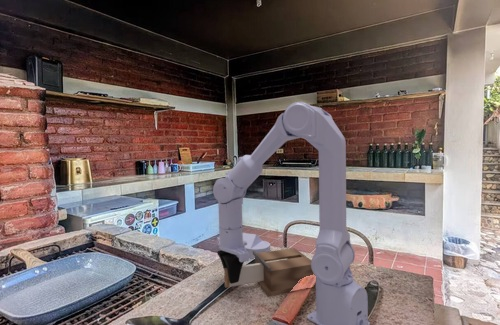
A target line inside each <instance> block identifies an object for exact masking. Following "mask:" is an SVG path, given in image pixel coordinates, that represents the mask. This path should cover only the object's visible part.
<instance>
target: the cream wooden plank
mask: <svg viewBox="0 0 500 325" xmlns="http://www.w3.org/2000/svg"><path fill="white" fill-rule="evenodd" d="M281 260H285V259H281ZM275 261H279V260H275ZM268 262H272V261H268ZM223 277H224V287H225V288H231V287H236V286H237V287H238V286H242V285H246V284H247V285H249V284H254V283H257V282H260V281H264V266H263V265H262V264H261V263H255V262H254V263H250V264H243V266H242V268H241V272H240V277H239V281H238V282H236V283H232V284H231V283H230V281H229V277H228V270H227V268H223Z"/></svg>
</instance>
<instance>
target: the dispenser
mask: <svg viewBox="0 0 500 325" xmlns="http://www.w3.org/2000/svg"><path fill="white" fill-rule="evenodd" d="M253 255H254V256H255V260H254V264H255V263H261V264H262V265H263V266H264V281H260V282H256V283H257V285H258V286H259V287H260V289H261V290H262V291H263V292H264V293H265V295H266V296H267V298H269V297H273V296H278V295H284V294H288V293H291V292H290V291H291V290H292V289H293V287H294V286H295V285H296V284H297V283H298V281H299V280H300V279H302V278H304V277H306V276H310V275H313V274H314V273H313V271H312V268H311V260H312V259H310V258H309V257H307V256H306V255H304V254H303V253H302V252H301V251H299V250H297V249H296V248H294V247H292V248H284V249H278V250H270V252H263V253H256V252H255V251H253ZM281 259H285V260H281ZM275 260H279V261H275ZM268 261H272V262H268ZM314 288H315V289H316V283H315V285H314V287H313V288H312V289H314Z"/></svg>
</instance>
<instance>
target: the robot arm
mask: <svg viewBox="0 0 500 325" xmlns="http://www.w3.org/2000/svg"><path fill="white" fill-rule="evenodd" d="M300 138H301V139H303V140H306V141H307V142H308V143H309V144H310V145H311V146H313V147H314V148H315V149H316V150H317V151H318V204H319V206H318V208H319V211H318V213H319V231H318V234H317V238H316V241H315V250H314V254H313V256H312V257H311V259H310V260H311V268H312V271H313V273H314V275H315V276H316V287H315V310H314V311H312V312H311V313H309V314H308V315H306V319H307V320H309V321H310V322H312V323H314V324H316V325H370V324H371V322H370V321H368V320H369V316H368V314H369V312H368V311H369V310H368V309H369V306H368V304H369V303H368V301H369V299H368V292H367V290H366V289H365V287H363V286H361V285H360V284H359V283H358V282H356V281H355V280H354V274H353V272H352V269H351V268H350V266H351V265H352V264H353V262H354V261H355V258H356V256H355V255H356V254H355V252H356V251H355V250H354V247H353V246H352V243H351V235H350V232H349V231H348V229H347V142H346V138H345V136H344V135H343V133H342V132H341V130H340V129H339V127H338V126H337V123H336V122H335V121H334V120H333V116H332V115H331V114H330V112H329V113H328V112H327V111H325V110H324V109H323V108H321V107H319V106H315V105H310V104H308V103H306V102H304V101H296V102H293V103H291V104H290V105H288V106H287V107H286V109H285V111H284V112H282V113H281V114H280V115H279V116H278V117H277V119H276V121H275V123H274V125H273V126H272V127H271V129H270V130H269V132H267V134H266V135H265V137H264V138H263V139H262V140H261V142H260V143H259V144H258V146H257V147H256V148H255V149H254V151H253V152H252V153H251V154H245V155H243V156H239V157H238V158H237V159H236V162H237V163H236V164H235V165H234V166H233V167H232V168H231V170H230V171H227V172H226V174H225V177H222V178H221V177H220V178H218V179H216V180H215V183H214V185H213V187H212V194H213V197H214V199H215V200H216V201H217V202H218V203H217V204H218V230H219V232H218V233H219V234H218V235H219V236H217V237H216V244H217V245H218V249H219V250H218V251H217V256H218V257H219V260H220V261H221V265H222V268H223V269H224V268H227V270H228V277H229V281H230V283H231V284H232V283H236V282H238V281H239V277H240V272H241V268H242V266H243V265H244V263H245V262H248V261H249V260H250V259H249V255H248V252H247V251H246V249H245V245H247V242H246V241H244V240H243V233H244V232H243V205H244V204H243V202H244V200H243V199H244V198H245V196H246V194H247V190H248V188H249V187H250V186H251V185H252V184H253V183H254V182H255V180H257V178H258V177H259V176H260V175H261V174H262V173H263V170H264V169H263V165H264V163H265V162H267V161H268V159H270V158H271V157H272V155H273V154H275V153H276V152H277V150H278V151H279V149H280V148H281V147H282V146H283V145H284V144H285V143H286V142H288V141H293V140H296V139H300Z"/></svg>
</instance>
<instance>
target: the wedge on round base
mask: <svg viewBox="0 0 500 325" xmlns="http://www.w3.org/2000/svg"><path fill="white" fill-rule="evenodd" d="M243 240H244V241H246V242H247V245H245V249H246V251H247V252H248V255H249V258H250V259H249V260H252V259H254V258H255V256H254V255H253V251H255V252H256V253H263V252H270V251H271V243H270V242H269V241H266V240H263V239H262V238H260V237H259V236H258V235H257V234H256V233H247V232H243Z"/></svg>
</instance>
